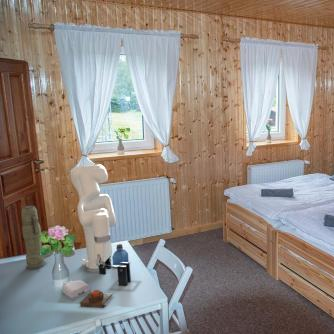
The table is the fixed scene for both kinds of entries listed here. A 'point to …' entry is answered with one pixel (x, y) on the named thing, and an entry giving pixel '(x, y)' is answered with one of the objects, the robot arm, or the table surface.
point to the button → (95, 293)
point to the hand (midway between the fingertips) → (105, 271)
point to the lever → (113, 265)
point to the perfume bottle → (120, 255)
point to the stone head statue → (32, 237)
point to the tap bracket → (124, 274)
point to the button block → (95, 300)
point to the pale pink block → (75, 288)
